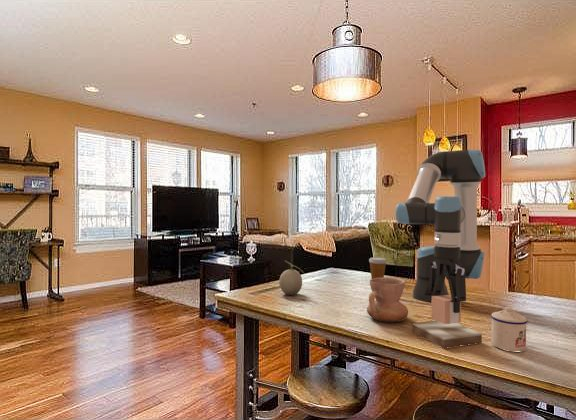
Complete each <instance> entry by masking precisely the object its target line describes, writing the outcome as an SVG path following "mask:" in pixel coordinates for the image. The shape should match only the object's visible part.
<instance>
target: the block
mask: <svg viewBox="0 0 576 420" xmlns="http://www.w3.org/2000/svg"><path fill="white" fill-rule="evenodd" d="M451 300H452V298H451V295H449V296H448V295H441V296H432V302H431V307H430V309H431V311H430V312H431V315H430V318H431V319H432V320H434V321H436V320H437V321H439V322H441V323H443V324H451V323H450V301H451ZM461 318H462V302H460V313H459V323H458V324H460V323H461V321H462V319H461Z"/></svg>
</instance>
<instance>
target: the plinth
mask: <svg viewBox="0 0 576 420" xmlns="http://www.w3.org/2000/svg"><path fill="white" fill-rule="evenodd" d="M413 332H414V334H415V333H416V335H417V334H418V335H417V336H419V335H420V336H419V337H421V336H422V337H421V338H423V337H424V338H426V339H428V340H430V341H431V342H430V341H429V342H430V343H432V342H433V343H432V344H434V343H435V344H437V345H439V346H441V347H442V348H441V347H440V348H441V349H443V348H447V347H454V346H460V345H468V344H474V345H476V344H475V343H481V342H482V341H483V338H482V337H483V336H482V335H483V334H482V332H480V331H476V330H475V329H472V328H469V327H468V326H465V325H463V324H460V323H451V324H443V323H441V322H439V321H437V320H428V321H420V322H413V323H412V333H413ZM424 338H423V339H424ZM426 339H425V340H426ZM428 340H427V341H428ZM435 344H434V345H435ZM481 344H482V343H481ZM437 345H436V346H437ZM439 346H438V347H439ZM468 346H469V345H468ZM454 348H455V347H454ZM447 349H448V348H447Z"/></svg>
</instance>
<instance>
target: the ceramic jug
mask: <svg viewBox="0 0 576 420" xmlns="http://www.w3.org/2000/svg"><path fill="white" fill-rule="evenodd" d="M405 283H406V281H405V280H404V279H401V278H400V279H399V278H396V277H387V276H384V277H383V278H374V279H372V278H371V279H370V280H369V285H370V289H371V292H369V295H368V306H367V307H366V312H367V314H368V315H369V317H371V318H373V319H374V320H376V321H379V322H384V323H399V322H402V321H404V320H405V319H406V318H407V317H408V314H409V310H408V308H407V306H406V305H405V304H403V303H402V302H401V301H400V299H401V298H402V295H403V292H404V289H405V285H406V284H405Z"/></svg>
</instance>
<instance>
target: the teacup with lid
mask: <svg viewBox="0 0 576 420" xmlns="http://www.w3.org/2000/svg"><path fill="white" fill-rule="evenodd" d="M490 318H491V345H492V344H493V345H494V346H496V347H498V348H501V349H505V350H509V351H524V350H525V349H526V348H527V323H528V320H527V318H526V316H524V315H521V314H519V313H518V312H517V311H514V309H513V308H512V307H510V306H506V307H504V309H502V310H499V311H494V312H492V313H491V315H490ZM493 345H492V346H493ZM494 346H493V347H494ZM496 347H495V348H496ZM498 348H497V349H498ZM525 351H526V350H525ZM525 351H524V352H525Z"/></svg>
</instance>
